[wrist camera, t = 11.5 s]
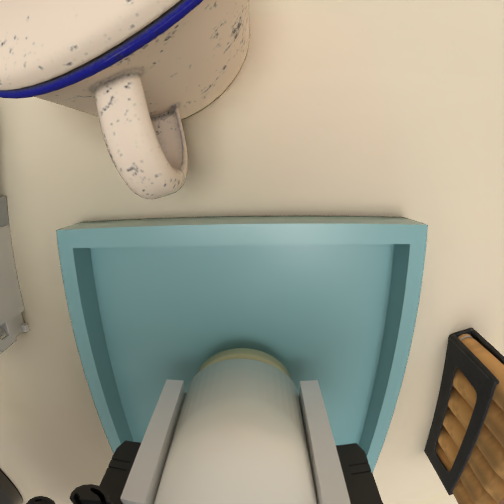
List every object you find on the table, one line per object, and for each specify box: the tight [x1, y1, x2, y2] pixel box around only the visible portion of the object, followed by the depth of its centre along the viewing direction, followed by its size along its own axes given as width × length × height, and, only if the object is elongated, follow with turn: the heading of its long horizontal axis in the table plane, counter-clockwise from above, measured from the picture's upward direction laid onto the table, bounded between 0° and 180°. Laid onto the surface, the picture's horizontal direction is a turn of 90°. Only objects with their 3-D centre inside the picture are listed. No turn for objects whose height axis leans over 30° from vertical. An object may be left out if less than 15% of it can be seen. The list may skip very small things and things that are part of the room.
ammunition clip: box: [424, 328, 504, 504], centre depth 11 cm, size 11×2×12 cm, turn 8°
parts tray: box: [56, 216, 428, 473], centre depth 15 cm, size 16×16×2 cm
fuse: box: [154, 348, 317, 504], centre depth 9 cm, size 5×5×10 cm
